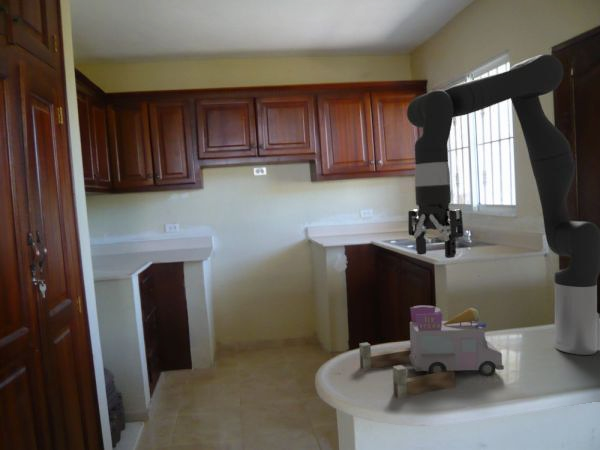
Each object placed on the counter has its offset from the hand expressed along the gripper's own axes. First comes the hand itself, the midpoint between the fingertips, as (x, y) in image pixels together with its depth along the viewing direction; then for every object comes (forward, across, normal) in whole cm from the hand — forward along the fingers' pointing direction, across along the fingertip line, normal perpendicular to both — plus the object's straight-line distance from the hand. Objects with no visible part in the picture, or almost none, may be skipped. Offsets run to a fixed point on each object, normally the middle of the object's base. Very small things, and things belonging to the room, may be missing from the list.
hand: (435, 255), depth 99 cm
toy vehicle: (+28, 0, -4) cm, 29 cm away
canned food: (+28, +15, -10) cm, 33 cm away
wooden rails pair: (+28, +4, +7) cm, 29 cm away
